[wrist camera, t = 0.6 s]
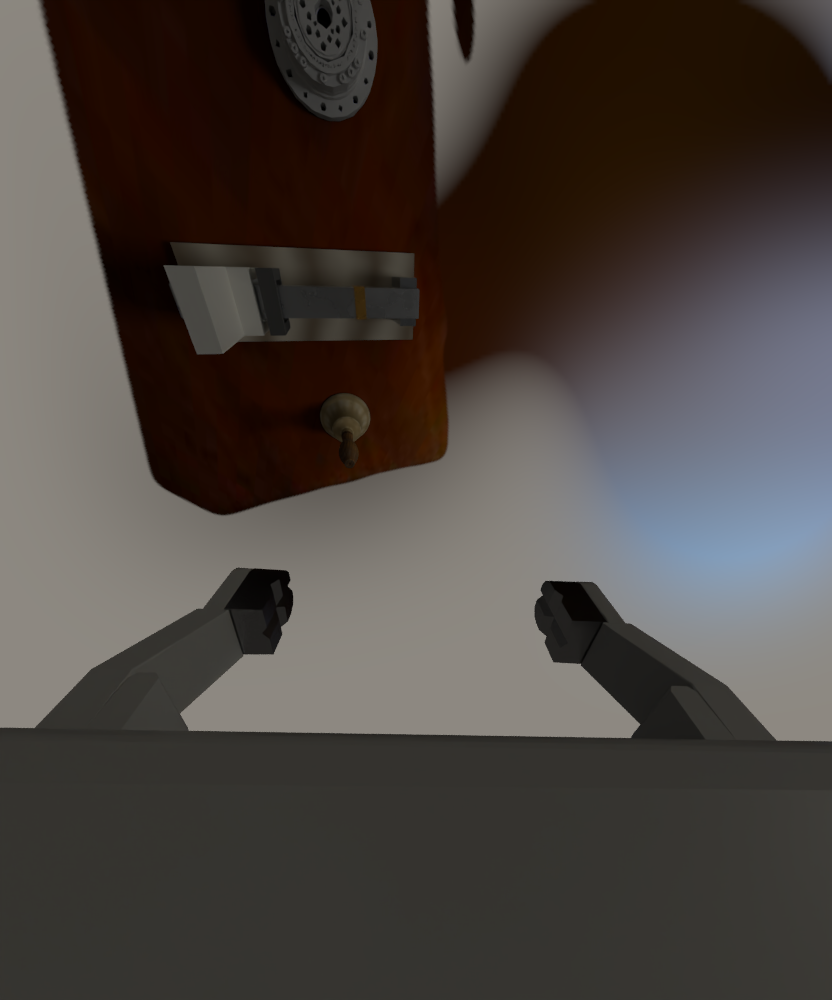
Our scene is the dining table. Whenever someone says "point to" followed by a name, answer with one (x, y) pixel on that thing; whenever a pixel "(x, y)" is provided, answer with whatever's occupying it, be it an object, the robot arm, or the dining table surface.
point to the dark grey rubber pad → (272, 300)
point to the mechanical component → (325, 52)
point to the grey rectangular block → (217, 305)
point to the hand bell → (345, 423)
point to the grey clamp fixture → (347, 301)
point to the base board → (314, 283)
